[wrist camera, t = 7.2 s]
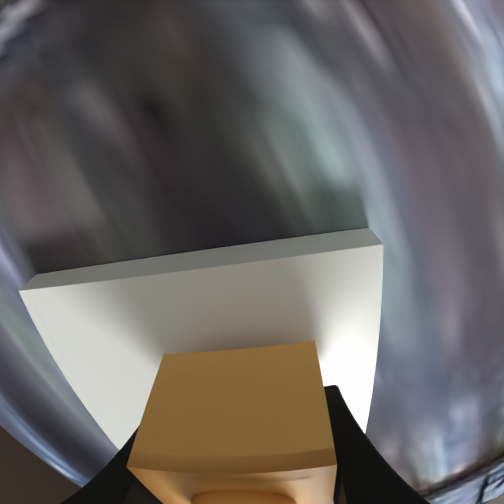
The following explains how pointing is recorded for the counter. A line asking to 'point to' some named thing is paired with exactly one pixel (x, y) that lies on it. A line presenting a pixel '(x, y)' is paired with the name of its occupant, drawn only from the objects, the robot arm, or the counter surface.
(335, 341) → the white board
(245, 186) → the counter surface
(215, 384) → the orange domed block
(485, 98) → the counter surface
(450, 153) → the counter surface
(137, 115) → the counter surface
